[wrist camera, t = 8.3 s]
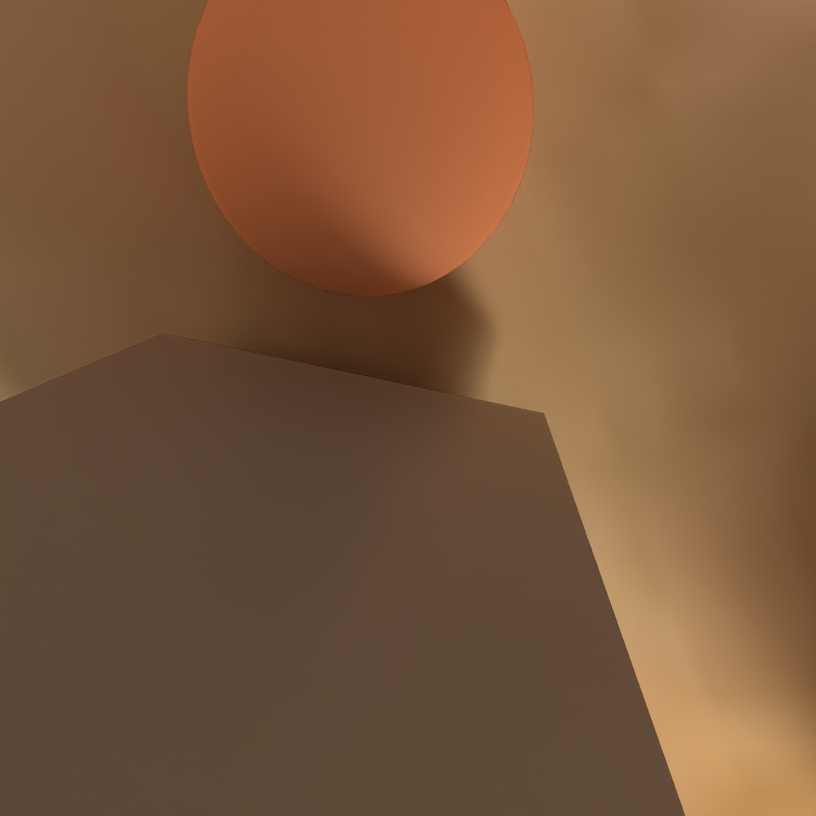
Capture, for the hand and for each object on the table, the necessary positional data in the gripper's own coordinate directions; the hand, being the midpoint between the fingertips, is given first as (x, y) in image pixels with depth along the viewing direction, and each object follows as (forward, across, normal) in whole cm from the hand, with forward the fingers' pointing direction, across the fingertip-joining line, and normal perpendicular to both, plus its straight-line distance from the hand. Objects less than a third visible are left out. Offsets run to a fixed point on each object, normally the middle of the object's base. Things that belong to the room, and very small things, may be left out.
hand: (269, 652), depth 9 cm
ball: (+3, 0, -8) cm, 8 cm away
